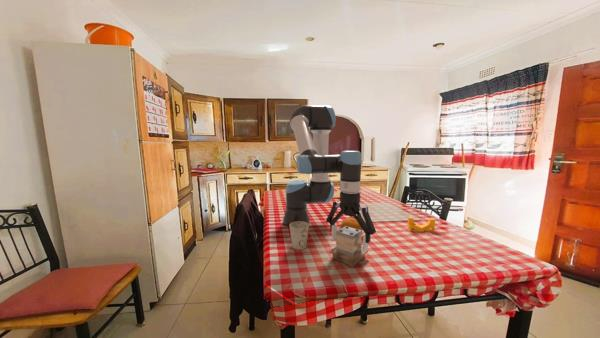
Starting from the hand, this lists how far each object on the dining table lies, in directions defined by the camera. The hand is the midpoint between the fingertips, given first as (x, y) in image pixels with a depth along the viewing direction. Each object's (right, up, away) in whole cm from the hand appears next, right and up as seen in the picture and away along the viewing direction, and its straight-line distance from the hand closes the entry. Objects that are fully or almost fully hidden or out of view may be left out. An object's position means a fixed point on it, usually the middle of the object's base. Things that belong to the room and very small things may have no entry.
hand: (348, 245), depth 87 cm
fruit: (+6, -3, +22) cm, 23 cm away
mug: (-20, -4, +12) cm, 24 cm away
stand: (0, -5, +1) cm, 5 cm away
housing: (0, -2, 0) cm, 2 cm away
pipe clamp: (+43, -2, +28) cm, 51 cm away
